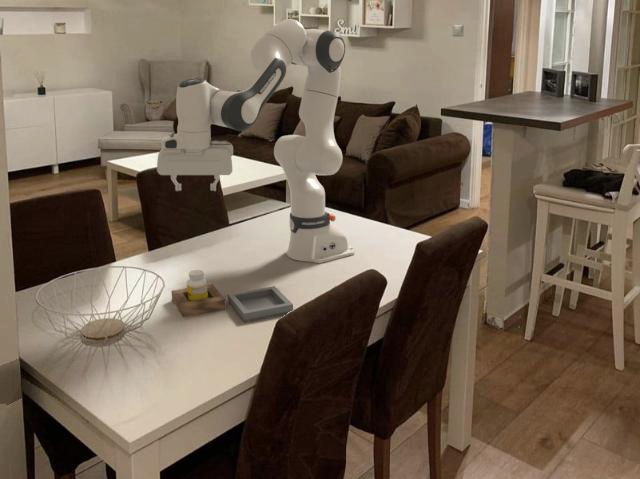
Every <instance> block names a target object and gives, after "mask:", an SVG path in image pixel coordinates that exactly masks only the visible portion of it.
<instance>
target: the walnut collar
mask: <svg viewBox="0 0 640 479" xmlns="http://www.w3.org/2000/svg"><path fill="white" fill-rule="evenodd" d="M207 292H208V299H202V300H196V301H191V302H189V300H188V288H187V287H186V288H180V289H173V290H171V300H172V303H173V304H174V306H175V307H176V309H177V310H178V312H179V313H180V315H181V316H182V318H184V317H190V316H192V317H193V316H195V315H196V316H197V315H202V314H209V313H213V312H218V311H223V310H226V298H225V297H224V296H223V295H222V294H221V292H220V291H219V290H218V288H217V287H216V286H215V284H213V283H210V284H207Z"/></svg>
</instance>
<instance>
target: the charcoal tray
mask: <svg viewBox="0 0 640 479" xmlns="http://www.w3.org/2000/svg"><path fill="white" fill-rule="evenodd" d="M227 303H228V304H229V305H230V307H231V308H232V309H233V311H234V312H235V313H236V314H237V315H238V317H239V318H240V319H241V320H242V321H243V322H244V323H248V322H253V321H257V320H263V319H268V318H273V317H278V316H284V315H288V314H287V313H288V312H290V311H292V310H293V311H294V303H292V301H290V300H289V299H288V297H287V296H286V295H285V294H283V293H282V291H280V290H279V289H278V288H277V287H276V286H275V285H273V286H267V287H262V288H256V289H251V290H246V291H239V292H234V293H233V292H232V293H228V294H227ZM283 314H284V315H283Z"/></svg>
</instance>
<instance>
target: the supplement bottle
mask: <svg viewBox="0 0 640 479" xmlns="http://www.w3.org/2000/svg"><path fill="white" fill-rule="evenodd" d="M204 276H205V273H204V270H202V269H201V270H200V269H194V270H190V271H189V273H188V278H189V279H188V280H187V283H186V286H187V287H186V288H188V300H189V302H191V301H196V300H202V299H208V292H207V285H208V282H207V279H206V278H205V277H204Z"/></svg>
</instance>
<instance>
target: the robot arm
mask: <svg viewBox="0 0 640 479" xmlns="http://www.w3.org/2000/svg"><path fill="white" fill-rule="evenodd" d="M345 54H346V44H345V40H344V39H343V37H342V35H341V34H340V33H337V32H335V31H333V30H324V29H318V28H309V29H308V28H307V29H305V27H304V26H303V25H302V24H301V23H300V22H299V21H298V20H296V19H292V18H286V19H284V20H281V21H280V22H278V23H277V24H275V25H274V26H273V27H272V28H270V29H269V30H268V31H266V32H265V33H264V34H263V35H262V36H261V37H260V38H259V39H258V40H257V41H256V42H255V44H254V45H253V47H251V50H250V60H251V64H252V67H253V69H255V71H256V73H258V75H257V77H255V79H254V80H253V82H252V83H251V84H250V86H248V88H246V89H244V90H241V91H231V90H230V91H229V90H226V89H225V90H224V89H221V88H218V87H216V86H213V85H212V84H210V83H209V82H207V80H206V79H204V78H200V77H197V78H196V77H195V78H188V79H184V80H182V81H181V82H180V83H178V86H177V90H176V97H175V98H176V100H175V103H176V104H175V105H176V106H175V110H176V116H177V120H178V121H177V122H178V124H177V128H176V131H177V132H176V133H175V134H174V133H173V134H171V135H167V136H165V137H164V138H162V139H161V140H160V147H161V149H160V150H159V152H158V153H157V154H158V155H157V161H156V172H157V173H158V174H159V175H160V176H170V179H171V181H172V183H173V185H175V186H174V188H175V192H182V183H179V182H178V181H177V176H214V178H213V179H215V180H214V181H213V183H210V186H209V187H210V192H216V191H217V184H218V182H219V181H220V178H221V176H230V175H231V174H232V173H233V159H232V157H233V156H234V146H233V143H231V142H229V141H228V140H212V137H211V134H212V133H211V130H212V129H211V125H216V126H219V127H223V128H228V129H232V130H235V131H237V132H245V131H248V130H249V129H251V128H252V127H253V126H255V124H256V122H257V120H258V118H259V116H260V114H261V112H262V110H263V108H264V106H265V105H266V104H267V102H268V101H269V99H270V98H271V97H272V96H273V95H274V93H275V92H276V90H277V89H278V88H279V86H280V84H281V83H282V82H283V80H284V78H285V77H286V74H287V68H288V67H289V66H290V65H291V64H292V65H295V66H296V65H298V66H302V67H307V76H306V79H305V83H304V86H303V91H302V96H301V100H300V105H299V110H298V115H299V119H300V120H301V121H302V122H303V124H304V127H305V136H304V135H298V134H288V135H282V136H280V137H279V138H278V139H277V141H275V145H274V147H273V155H274V158H275V161H276V162H277V163H278V164H279V166H280V167H281V169H282V171H283V172H284V175H285V179H286V181H287V183H288V184H287V185H288V188H289V194H290V214H289V230H290V235H289V236H290V237H289V243H288V248H287V252H286V255H287V257H288V258H290V259H292V260H295V261H298V262H309V263H314V264H321V263H322V264H323V263H326V262H329V261H333V260H337V259H341V258H344V257H348V256H353V255H355V252H356V251H355V248H354V246H352V245H351V244H350V243H348V238H347V235H346V234H345V232H344V231H343V230H342V229H341V228H339V227H337V226H336V225H334V224H333V222H336V220H337V217H336V216H335V215H334V214H331V213H329V212H327V211H326V192H325V188H324V186H323V185H322V184H321V183H320V181H319V180H318V178H317V176H332V175H335V174H336V173H337V172H338V171H339V170H340V168H341V166H342V164H343V159H344V158H343V157H344V156H343V153H342V149H341V148H340V147H339V145H338V143H337V140H336V138H335V137H336V136H335V132H334V131H335V130H334V119H335V113H336V109H337V104H338V99H339V94H340V89H341V87H340V86H341V80H342V79H341V74H342V72H341V71H342V70H341V67H340V65H341V64H342V62H343V60H344V57H345ZM316 175H317V176H316Z"/></svg>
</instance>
